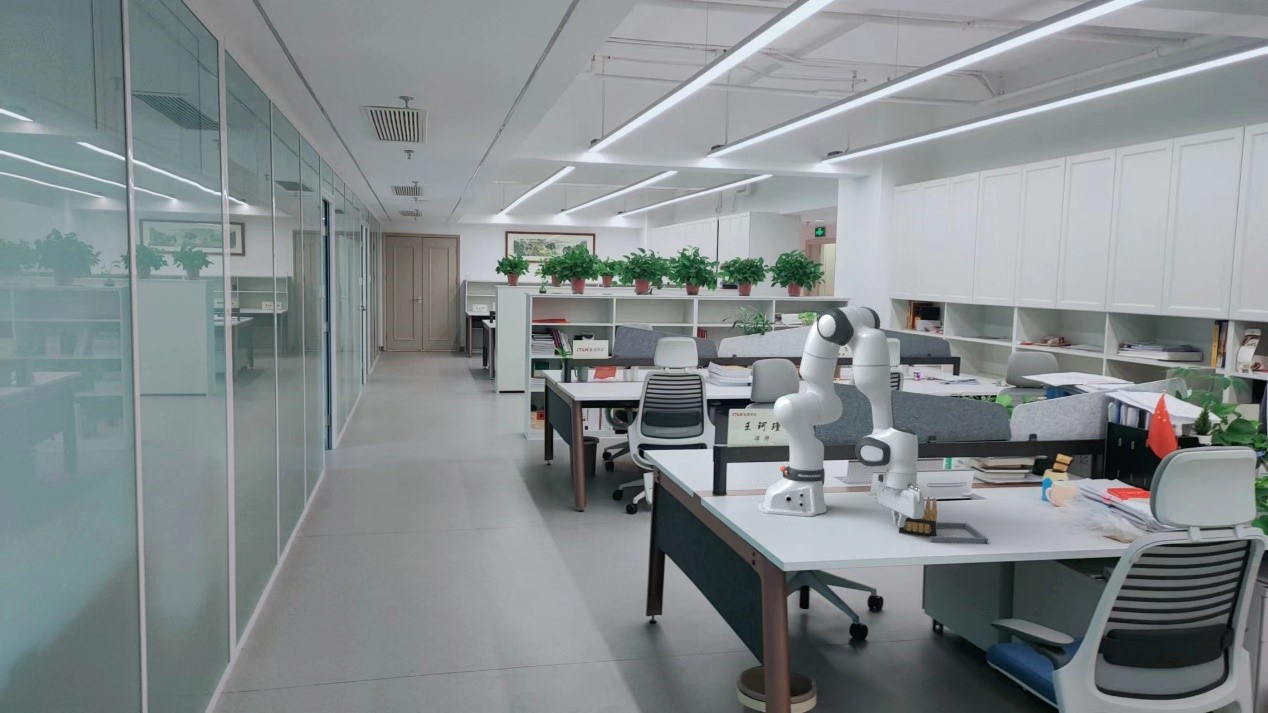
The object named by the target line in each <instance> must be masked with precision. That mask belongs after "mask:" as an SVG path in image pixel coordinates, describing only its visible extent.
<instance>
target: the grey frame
mask: <svg viewBox="0 0 1268 713" xmlns="http://www.w3.org/2000/svg"><path fill="white" fill-rule="evenodd" d="M930 526H931V525H930ZM936 529H944V530H945V529H949V530H950V529H951V530H965V531H966V532H968V533H969V534H970V535H972V536H973V537H969V536H968V537H967V536H939V535H938V536H930V537H929V542H930V543H931V544H932V543H935V544H937V543H938V544H963V545H964V544H965V545H966V544H967V545H968V544H969V545H970V544H971V545H988V544H989V538H988V537H987V536H986V535H984V534H982V533H981V532H980V531H978V530H977V529H976V528H975V527H973V526H971V524H969V523H968V522H953V521H952V522H951V521H950V522H949V521H946V522H945V521H943V522H942V521H941V522H940V521H937V525H936Z"/></svg>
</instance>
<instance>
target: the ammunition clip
mask: <svg viewBox="0 0 1268 713" xmlns="http://www.w3.org/2000/svg"><path fill="white" fill-rule="evenodd" d="M923 500H924V501H925V498H924V497H923ZM925 502H926V504H925V508H924V516H923V518H921V519H912V518H909V517H907V518H906V520H905V525H904V527H898V533H899V534H905V535H912V536H913V535H914V536H920V537H921V536H922V537H928V538H930V536H937V528H936V525H937V522H938V520H937V519H938V510H937V499H936V497H934V498H933V501H932V503H931V499H930V496H927V499H926V501H925ZM931 504H932V506H931ZM930 525H931V526H930Z"/></svg>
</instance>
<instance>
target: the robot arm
mask: <svg viewBox="0 0 1268 713" xmlns="http://www.w3.org/2000/svg"><path fill="white" fill-rule="evenodd" d="M880 327H881V319H880V315H879V314H878V313H877V311H875V310H874V309H873V308H869V307H868V306H855V305H854V306H849V305H848V306H844V307H843V306H842V307H832V308H829V309H826V310H824V311H822V312H821V313H820V314H819V316H818V318H817V320H816V321H815V322H814V323H813V324H812V326H811V328H810V330H809V332H808V335H807V337H806V341H805V344H804V347H803V348H804V349H803V353H802V356H801V357H802V358H801V361H800V364H799V375H800V376H801V378H802V380H803V381H806V386H807V387H806V388H807V389H806V391H805V392H796V393H789V394H786V395H783V396H780V397H779V398H777V399H776V401H775V403H774V405H773V415H774V419H775V420H776V421H777V423H778V424H779V425H780V426H781V427H782V428H783V429H784V431H785V433H786V436H787V439H788V440H787V441H788V444H789V445H788V446H789V460H788V461H789V463H788V464H789V465H787V466H785V465H781V466H780V468H779V470H780V471H781V472H782V477H781V478H780V479H778V480H776V482H773V483H772V484H771V485H770V486H768V487H767V489H766V491H765V495H764V499H763V500H762V499H761V500H760V501H758V502H757V508H758V510H759V511H761V512H762V513H765V514H770V515H773V514H774V515H783V516H785V515H786V516H796V517H797V516H798V517H799V516H801V517H813V516H814V517H815V516H817V515H820V514H824V513H826V512H827V507H826V501H825V494H824V485H825V478H826V476H825V475H826V472H825V468H824V462H825V461H824V459H825V457H824V456H825V445H824V443H823V442H822V441H821V440H820V439H819V438H817V437H816V436H815V431H814V426H823V425H828V424H831V423H833V422H836V421H837V420H839V419H840V418H841V416H842V415H843V407H844V405H843V402H842V400H841V398H840V397H839V395H837V393H836V390H835V383H834V382H835V380H834V379H835V372H836V367H837V364H838V359H839V355H840V350H841V347H845V346H848V347H849V348H850V349H851V354H852V376H853V381H854V382H853V383H854V385H855V387H856V388H857V390H858V391H860V392H861V393H862V394H863V395H865V396H866V398H867V399H868V400H869V402H870V405H871V413H872V425H873V430H872V432H871V434H868V435H865V436H863V437H861V438H860V439H858V441H856V442H857V443H856V444H855V448H854V451H855V456H856V458H857V460H858V461H859V463H861V464H862V465H863V466H865V467H872V468H873V467H883V466H884V467H885V472H883V473H878V474H876V480H877V481H878V483H877V486H876V487H877V488H876V498H877V499H876V500H877V502H878V505H879V504H880V505H882V506H884V507H886V508H887V509H890V510H891V515H892V518H893V525H894V526H897V527H898V528H899V527H904V525H905V520H906V518H907V517H909V518H912V519H921V518H923V516H924V509H925V499H924V500H923V498H924V495H923V493H922V492H921V490H920V487H919V486H917V484H918V483H917V482H918V481H917V480H918V469H917V462H918V458H919V440H918V436H917V435H918V434H917V432H915V430H914V429H912V428H909V427H907V426H903V425H895V416H894V406H893V404H894V403H893V396H892V386H891V381H892V380H891V357H890V354H891V353H890V347H889V343H888V339H887V335H886V334H885V332H884V331H883V330H881V329H880Z"/></svg>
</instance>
